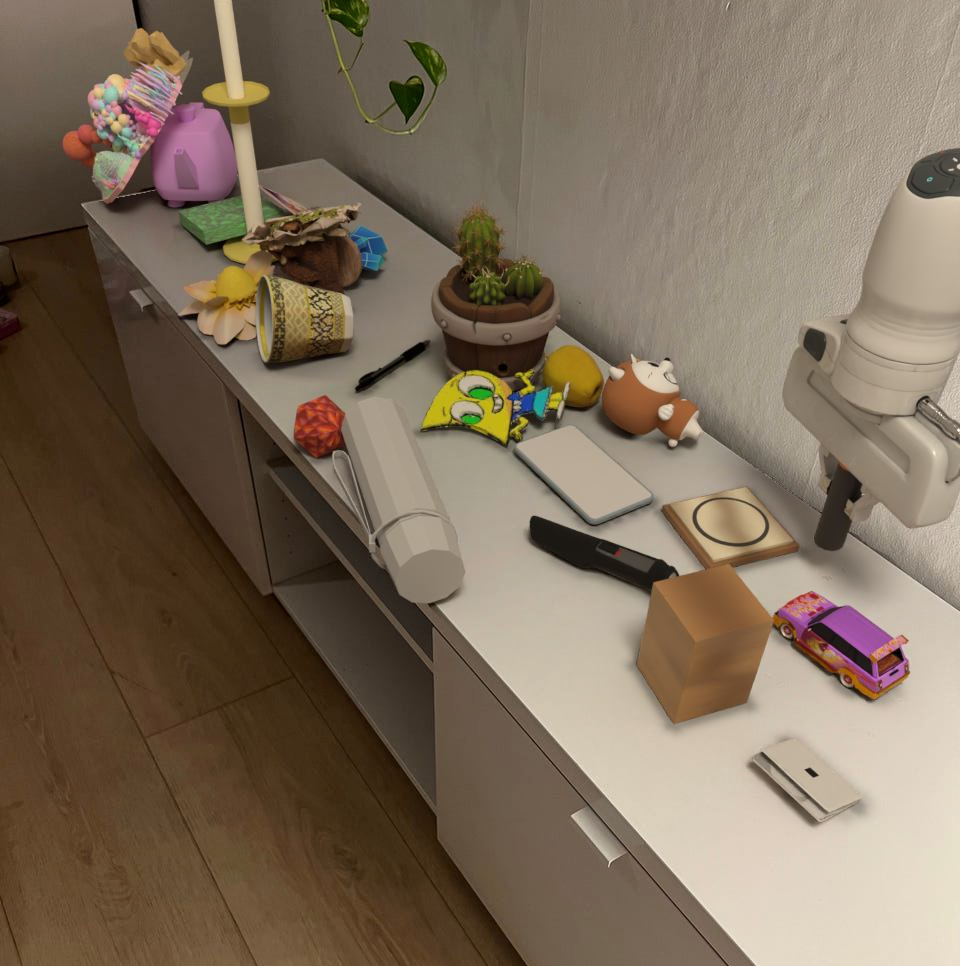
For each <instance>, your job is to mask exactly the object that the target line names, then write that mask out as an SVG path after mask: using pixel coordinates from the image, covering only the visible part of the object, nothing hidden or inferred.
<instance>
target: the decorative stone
mask: <svg viewBox="0 0 960 966" xmlns="http://www.w3.org/2000/svg"><path fill="white" fill-rule="evenodd" d="M345 414H346V412H345V411H344V410H343V409H341V408H340V407H339V405H337V404H336V403H335V401H333V400H332V399H331V398H330V397H329V396H328V395H326V394H324V395H321V396H318V397H316V398H314V399H311V400H308V401H305V402H304V403H301V404H299V405H298V406H297V409H296V413H295V419H294V427H293V428H294V429H293V439H294V440H295V441H296V442H297V443H298V444H299V445H300V446H302V448H304V449H305V450H306V451H307V452H308V453H309V454H311V455H312V456H313V457H314V458H315V459H318V458H320V457H323V456H325V455H327V454H329V453H333V451H337V450H340V449H341V448H343V447H344V445H345V444H346V443H345V440H344V437H343V434H342V431H341V427H342V424H343V420H344V416H345Z"/></svg>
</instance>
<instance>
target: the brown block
mask: <svg viewBox="0 0 960 966" xmlns="http://www.w3.org/2000/svg"><path fill="white" fill-rule="evenodd" d="M773 626H774V619H773V617H772V616H771V614H770V613H769V612H768V611H767V610H766V608H765V607H764V605H763V604H762V603H761V602H760V601H759V599H758V598H757V596H755V594H754V593H753V592H752V591H751V589H750V588H749V586H748V585H747V584H746V583H745V581H743V580H742V578H741V577H740V576H739V574H738V573H737V571H735V569H734V567H731V566H730V564H726V565H722V566H718V567H714V568H710V569H702V570H698V571H693V572H690V573H685V574H682V575H679V576H677V577H673V578H669V579H665V580H661V581H657V582H654V583H653V587H652V591H650V597H649V602H648V608H647V612H646V617H645V623H644V628H643V633H642V638H641V643H640V647H639V654H638V658H637V662H636V667H637V668H638V670H639V671H640V672H641V675H642V676H643V678H644V679H645V681H646V682H647V683H648V685H649V687H650V689H651V690H652V692H653V693H654V695H655V697H656V699H657V700H658V701H659V703H660V705H661V706H662V707H663V709H664V711H665V713H666V714H667V715H668V717H669V718H670V720H671V722H672V724H674V725H675V724H679V723H683V722H686V721H689V720H693V719H696V718H699V717H700V718H701V717H703V716H706V715H710V714H713V713H716V712H717V713H718V712H720V711H723V710H724V711H725V710H727V709H731V708H734V707H737V706H742V705H744V704H747V703H748V701H749V697H750V695H751V692H752V688H753V686H754V682H755V680H756V677H757V674H758V670H759V668H760V664H761V662H762V659H763V656H764V652H765V650H766V646H767V644H768V641H769V638H770V634H771V633H772V629H773Z"/></svg>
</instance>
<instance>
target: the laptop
mask: <svg viewBox="0 0 960 966" xmlns="http://www.w3.org/2000/svg"><path fill="white" fill-rule="evenodd" d="M760 751H761V752H759V753H757V754H754V755H753V756H752V757H751V760H752V761H753V762H754V763H755V764H756V765H757V766H758V767H759V768H760V769H761V770H762V771H763V772H765V773H766V774H767V775H768V776H769V777H770V778H771V779H772V780H773V781H775V783H776V784H777V785H779V786H780V787H781V788H782V790H784V791H785V792H786V793H787V794H788V795H790V797H792V799H794V800H795V801H796V802H797V804H799V805H800V806H801V807H802V808H803V809H805V811H806V812H808V813H809V814H810V815H811V816H812V817H813V818H814V819H815V820H816V821H818V823H823V822H824V821H826V820H828V819H830V818H832V817H834V816H836V815H838V814H839V813H841V812H843V811H845V810H847V809H848V808H851V807H853V806H854V805H856V804H858V803H859V802H860V800H861V799H863V796H862V795H861V794H860V793H859V792H857V791H856V789H854V788H853V787H852V786H851V785H850V784H849V783H847V782H846V781H845V780H844V779H843V778H842V777H841V776H840V775H838V774H837V773H836V772H835V771H834V770H833V769H832V768H830V767H829V766H828V765H827V764H826V763H825V762H823V760H822V759H820V758H819V757H818V756H817V755H816V754H815V753H814V752H812V750H810V749H809V748H808V747H806V746H805V744H804V743H802V742H801V741H800V740H799V739H798V738H796V737H792V738H789V739H786V740H784V741H780V742H777V743H775V744H774V743H773V744H771V745H768V746H765V747H762V748H760Z"/></svg>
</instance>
